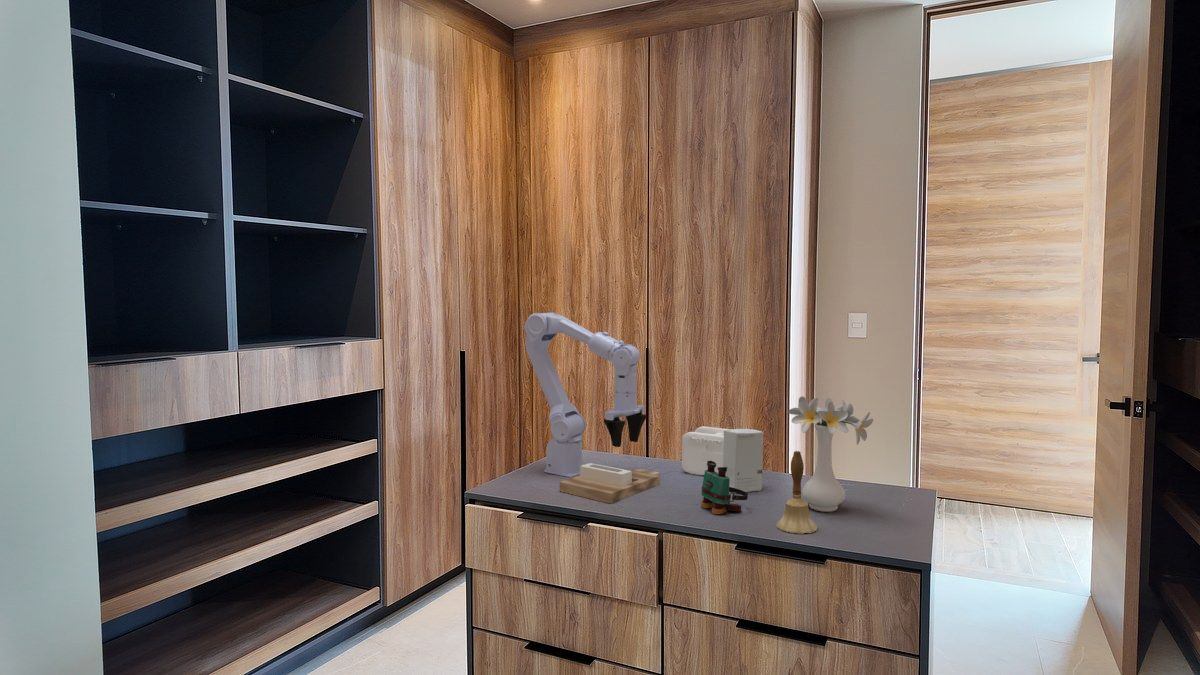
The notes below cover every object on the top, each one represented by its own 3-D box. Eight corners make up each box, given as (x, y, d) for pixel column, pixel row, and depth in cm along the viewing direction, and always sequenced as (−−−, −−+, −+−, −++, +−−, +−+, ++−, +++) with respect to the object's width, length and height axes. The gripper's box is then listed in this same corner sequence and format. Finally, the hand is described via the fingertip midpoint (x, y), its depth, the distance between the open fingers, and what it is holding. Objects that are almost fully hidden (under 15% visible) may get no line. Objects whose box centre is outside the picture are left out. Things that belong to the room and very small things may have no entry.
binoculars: (756, 468, 157) (718, 468, 153) (752, 515, 157) (713, 516, 153) (734, 459, 165) (697, 459, 161) (729, 504, 165) (692, 504, 161)
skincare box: (734, 494, 171) (735, 433, 170) (721, 487, 176) (722, 429, 175) (763, 490, 174) (764, 431, 173) (749, 484, 179) (750, 426, 179)
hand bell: (771, 529, 145) (772, 453, 144) (782, 518, 152) (784, 445, 151) (812, 537, 141) (813, 458, 140) (821, 525, 148) (823, 450, 147)
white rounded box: (747, 473, 191) (748, 431, 190) (732, 482, 182) (733, 437, 181) (696, 466, 199) (697, 425, 198) (679, 474, 190) (680, 431, 189)
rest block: (633, 478, 185) (633, 470, 185) (639, 475, 187) (639, 468, 187) (653, 482, 181) (653, 474, 181) (659, 479, 183) (659, 472, 183)
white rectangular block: (580, 484, 176) (580, 465, 176) (590, 481, 179) (590, 462, 179) (621, 494, 168) (622, 473, 168) (631, 490, 171) (631, 470, 171)
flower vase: (863, 522, 150) (867, 405, 148) (778, 508, 159) (780, 399, 157) (874, 507, 161) (877, 398, 159) (793, 494, 170) (796, 392, 169)
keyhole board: (609, 475, 188) (609, 466, 188) (659, 485, 178) (659, 476, 178) (559, 491, 172) (559, 481, 172) (611, 503, 163) (611, 493, 162)
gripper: (621, 396, 174) (621, 450, 175) (654, 390, 185) (653, 441, 186) (598, 393, 178) (598, 447, 179) (632, 388, 190) (632, 437, 191)
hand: (625, 443), depth 183 cm, fingers open, 7 cm apart
